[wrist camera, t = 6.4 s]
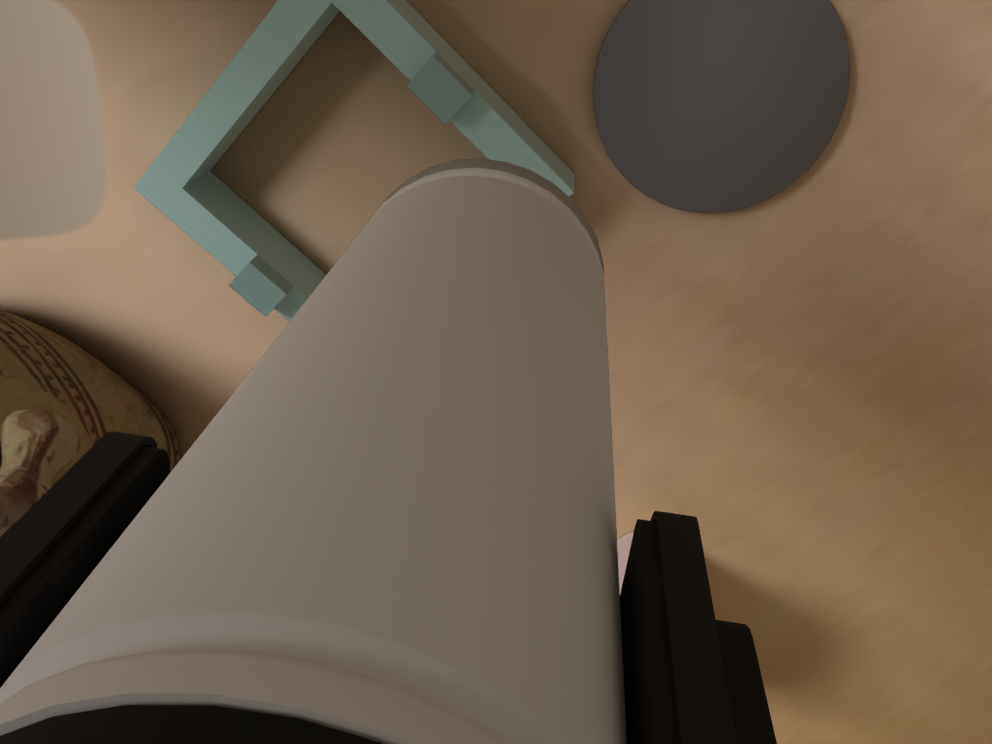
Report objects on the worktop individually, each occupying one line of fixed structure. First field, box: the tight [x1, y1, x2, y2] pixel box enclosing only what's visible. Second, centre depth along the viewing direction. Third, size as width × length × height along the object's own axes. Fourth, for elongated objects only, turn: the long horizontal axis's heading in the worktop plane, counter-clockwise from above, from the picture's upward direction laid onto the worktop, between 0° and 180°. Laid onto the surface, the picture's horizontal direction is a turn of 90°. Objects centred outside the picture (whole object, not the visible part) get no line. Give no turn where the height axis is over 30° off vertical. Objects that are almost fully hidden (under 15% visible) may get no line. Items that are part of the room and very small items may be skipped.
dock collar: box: [134, 0, 575, 322], centre depth 36 cm, size 13×13×4 cm
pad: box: [593, 0, 850, 213], centre depth 35 cm, size 10×10×1 cm
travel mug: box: [0, 159, 627, 744], centre depth 13 cm, size 6×7×20 cm
